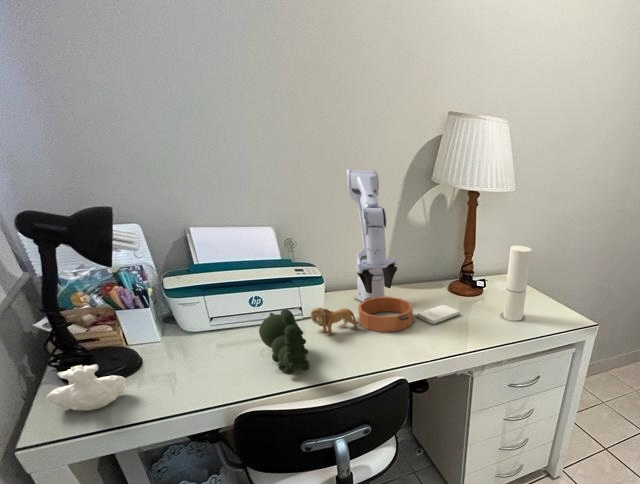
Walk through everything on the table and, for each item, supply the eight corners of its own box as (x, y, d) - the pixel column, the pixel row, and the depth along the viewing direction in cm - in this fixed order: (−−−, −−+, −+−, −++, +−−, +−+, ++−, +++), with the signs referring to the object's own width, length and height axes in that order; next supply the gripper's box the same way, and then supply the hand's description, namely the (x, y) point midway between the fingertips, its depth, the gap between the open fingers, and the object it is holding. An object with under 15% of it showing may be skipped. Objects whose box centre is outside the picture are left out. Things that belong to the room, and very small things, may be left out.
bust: (61, 424, 85) (43, 405, 76) (48, 392, 86) (29, 370, 77) (136, 403, 92) (127, 384, 84) (123, 374, 93) (114, 352, 85)
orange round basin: (346, 317, 136) (344, 303, 133) (387, 305, 148) (387, 292, 145) (384, 338, 126) (383, 323, 124) (425, 323, 138) (425, 310, 136)
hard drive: (459, 315, 147) (433, 324, 138) (442, 308, 151) (417, 317, 142) (459, 311, 146) (433, 320, 137) (443, 304, 150) (417, 312, 141)
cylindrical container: (523, 314, 154) (532, 247, 141) (521, 321, 148) (530, 252, 135) (504, 311, 154) (511, 244, 142) (502, 319, 148) (509, 249, 135)
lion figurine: (319, 341, 121) (315, 312, 116) (309, 334, 123) (305, 306, 119) (363, 327, 131) (360, 300, 127) (353, 321, 134) (350, 295, 129)
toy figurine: (322, 382, 106) (293, 335, 121) (315, 317, 96) (283, 274, 110) (282, 392, 101) (257, 342, 115) (270, 325, 90) (243, 279, 105)
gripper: (364, 255, 121) (367, 298, 128) (402, 247, 131) (404, 288, 138) (349, 249, 124) (353, 292, 131) (388, 242, 134) (389, 282, 141)
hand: (378, 289), depth 135 cm, fingers open, 7 cm apart
